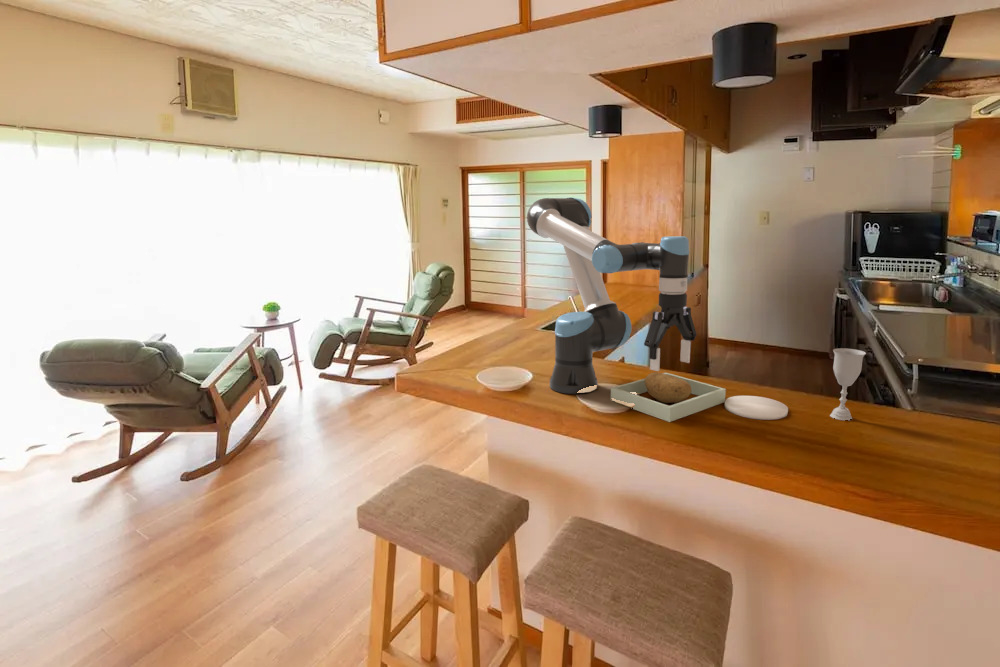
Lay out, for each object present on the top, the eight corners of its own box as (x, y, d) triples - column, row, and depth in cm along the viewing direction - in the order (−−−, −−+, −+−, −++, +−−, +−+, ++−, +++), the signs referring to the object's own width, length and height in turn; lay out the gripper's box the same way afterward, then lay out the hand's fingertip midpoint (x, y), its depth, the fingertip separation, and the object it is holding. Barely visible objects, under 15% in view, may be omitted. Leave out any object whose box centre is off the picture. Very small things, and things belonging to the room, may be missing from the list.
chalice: (853, 413, 148) (861, 349, 144) (860, 423, 142) (869, 355, 138) (822, 411, 151) (830, 347, 147) (828, 420, 144) (836, 353, 140)
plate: (712, 407, 155) (713, 403, 155) (744, 395, 164) (745, 392, 164) (767, 424, 142) (768, 420, 142) (799, 410, 151) (799, 406, 151)
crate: (610, 400, 162) (610, 388, 161) (665, 384, 176) (665, 372, 175) (669, 422, 145) (670, 407, 144) (724, 402, 159) (725, 388, 158)
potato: (679, 412, 152) (680, 384, 150) (637, 399, 163) (638, 373, 161) (698, 403, 158) (699, 377, 156) (656, 392, 169) (657, 367, 167)
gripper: (654, 298, 143) (652, 376, 148) (711, 289, 157) (707, 361, 162) (632, 295, 149) (630, 370, 154) (689, 287, 163) (686, 356, 168)
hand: (670, 366), depth 158 cm, fingers open, 13 cm apart
